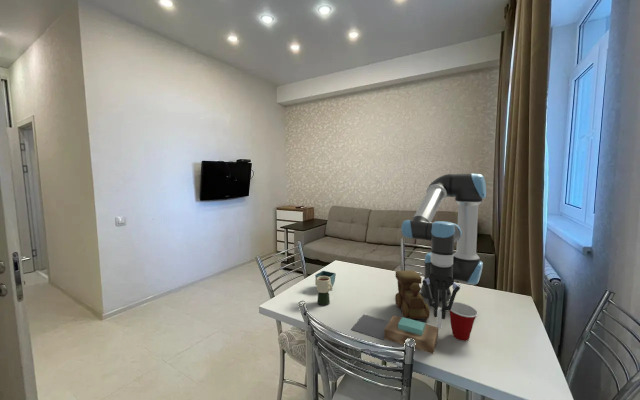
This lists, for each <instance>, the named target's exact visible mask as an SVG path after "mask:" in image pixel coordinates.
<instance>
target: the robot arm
mask: <svg viewBox="0 0 640 400" xmlns="http://www.w3.org/2000/svg"><path fill="white" fill-rule="evenodd" d="M486 184H487V183H486V179H485V177H484V176H483V174H481V173H472V172H471V173H447V174H444V175H441V176H439V177H437V178H436V179H434V180H433V181H431V183H430V184H428V186H427V189H426V194H425V196H424V198H423V199H422V201H421V203H420V205H419V206H418V208H417V210H416V212H415V213H414V215H413V217H412V219H406V220H403V222H402V224H401V234H402V236H403V237H404V238H409V239H413V240H421V241H422V240H423V241H430V242H431V245H430V252H428V253H426V254H425V256H424V274H423V275H424V278H423V280H421V286H420V288H421V290H420V294H421V296H422V297H423V298H425V299H427V301H428V302H427V304H428V307H430V308H433V316H434V318H436V327H438V328H439V329H442V326H443V320H445V319H446V316H447V315H446V314H447V313H446V312H447V311H448V312H449V311H450V310H451V308H452V305H453V302H455V298H456V296H457V293H458V292H460V289H461V284H457V283H456V282H460V283H465V284H467V285H468V284H470V285H477V284H478V283H479V281H480V278H481V275H482V270H483V267H484V263H483V261H481V260H480V256H479V255H478V254H477V241H478V221H479V220H478V219H479V218H478V216H479V205H480V204H482V203H483V200H484V199H486V197H487V185H486ZM446 198H454V202H456V204H457V207H458V208H457V223H455V222H450V221H443V220H441V221H439V220H438V221H434V222H432V221H433V219H434V218H435V215H436V213H437V211H438V209H439V207H440V205H441V203H442V201H443V200H445V199H446ZM455 243H456V251H454V249H455V248H454V247H455ZM450 287H452V292H451V289H450ZM449 299H450V300H449ZM447 300H448V301H449V302H448V303H449V304H448V303H447ZM439 302H441V307H440V306H439V304H440V303H439Z"/></svg>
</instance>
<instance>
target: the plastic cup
mask: <svg viewBox="0 0 640 400" xmlns="http://www.w3.org/2000/svg"><path fill="white" fill-rule="evenodd" d="M448 304H449V302H448V303H447V305H448ZM448 312H449V318H450V319H449V321H450V326H451V333H452V337H455V338H454V339H457V340H458V341H461V340H463V341H462V342H466V340H467V341H469V339H470V337H471V333H472V329H473V327H474V322H475V319H476V318H477V316H478V315H479V312H478V310H477V309H476V308H474V307H473V306H471V305H470V304H466V303H463V302H457V301H454V302H453V305H452V308H451V310H450V311H448Z"/></svg>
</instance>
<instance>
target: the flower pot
mask: <svg viewBox="0 0 640 400" xmlns="http://www.w3.org/2000/svg"><path fill="white" fill-rule="evenodd" d="M336 275H337V274H336V272H331V271H327V270H321V271H320V272H318V273H316V274H315V280H316V279H317V277H319V276H328V277H330V279H331V284H332V288H333V287H334V285H335V281H336Z"/></svg>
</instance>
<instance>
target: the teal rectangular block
mask: <svg viewBox="0 0 640 400" xmlns="http://www.w3.org/2000/svg"><path fill="white" fill-rule="evenodd" d="M400 318H401V320H400V322H399V323H398V329H401V330H404V331H408V332H411V333H415V334H418V335H423V332H424V330H425V324H426V322H423V321H420V320H416V319H410V318H404V317H403V316H402V317H400Z"/></svg>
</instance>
